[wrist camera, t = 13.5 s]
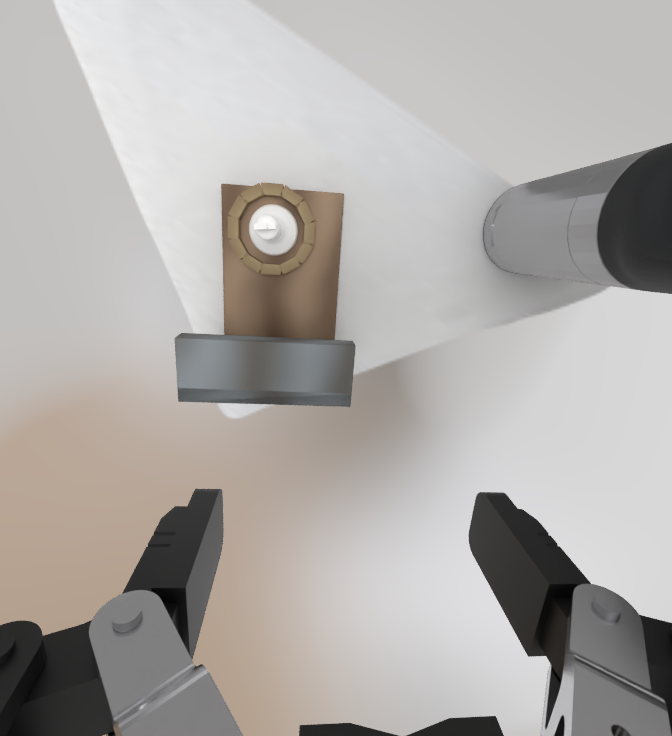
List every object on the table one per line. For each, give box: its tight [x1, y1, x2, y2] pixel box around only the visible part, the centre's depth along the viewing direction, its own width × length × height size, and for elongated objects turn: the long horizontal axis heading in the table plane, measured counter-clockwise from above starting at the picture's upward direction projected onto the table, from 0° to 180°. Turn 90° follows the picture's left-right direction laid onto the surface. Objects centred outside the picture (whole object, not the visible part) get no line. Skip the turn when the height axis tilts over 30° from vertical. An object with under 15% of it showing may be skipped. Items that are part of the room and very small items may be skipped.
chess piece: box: [249, 204, 298, 256], centre depth 35 cm, size 5×5×10 cm
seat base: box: [175, 183, 355, 407], centre depth 33 cm, size 12×16×18 cm
